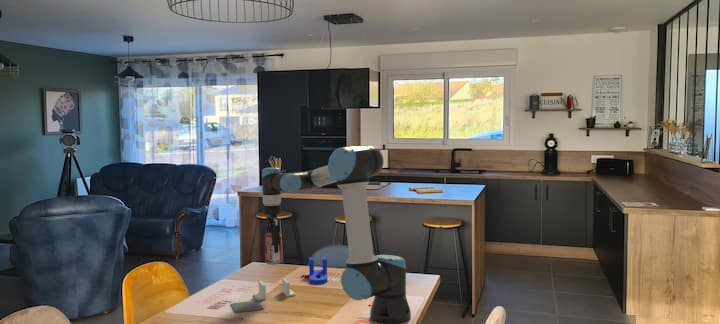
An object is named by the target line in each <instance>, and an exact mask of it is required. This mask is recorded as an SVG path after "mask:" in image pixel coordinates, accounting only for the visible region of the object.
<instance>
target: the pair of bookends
mask: <svg viewBox="0 0 720 324" xmlns="http://www.w3.org/2000/svg"><path fill="white" fill-rule="evenodd" d="M281 284H282V285H281V288H282V293H283V294H284V296H285V297H286V298H289V297H295V296H296V293H295V292H294V291H293V290H292V289H291V288H290V287H291V286H290V284H291V283H290V281H289V280H288V279H287V278H285V277H282V278H281ZM266 286H267V285H266V284H265V283H264V282H263V280H258V292H254V293H252V294H253V297H254V298H255V300H258V301H259V302H260V301H265V300H267V295H266V293H267V292H266V291H267V290H266Z"/></svg>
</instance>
